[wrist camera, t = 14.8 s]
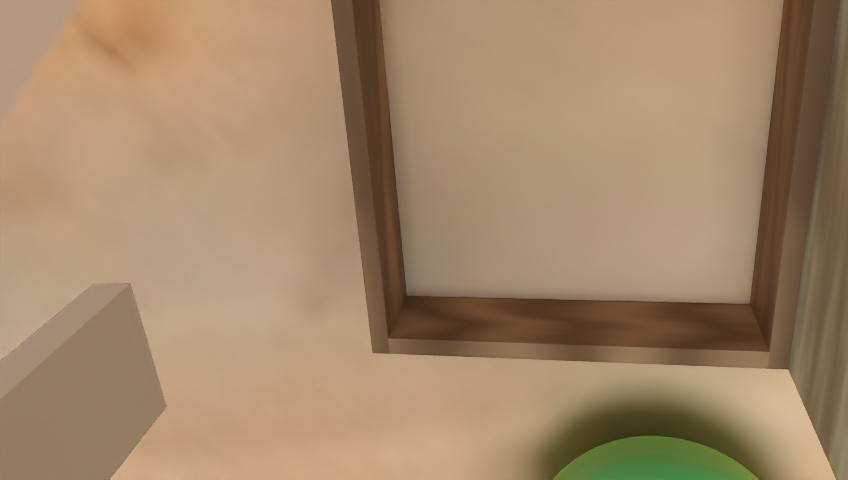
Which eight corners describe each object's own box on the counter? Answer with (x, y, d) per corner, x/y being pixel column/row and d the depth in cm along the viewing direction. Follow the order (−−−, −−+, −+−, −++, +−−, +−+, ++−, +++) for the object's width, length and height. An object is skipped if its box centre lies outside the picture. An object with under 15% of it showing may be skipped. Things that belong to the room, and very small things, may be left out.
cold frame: (392, 309, 48) (278, 559, 30) (353, -67, 39) (159, -34, 21) (785, 320, 43) (930, 623, 25) (843, -104, 34) (1128, -101, 16)
